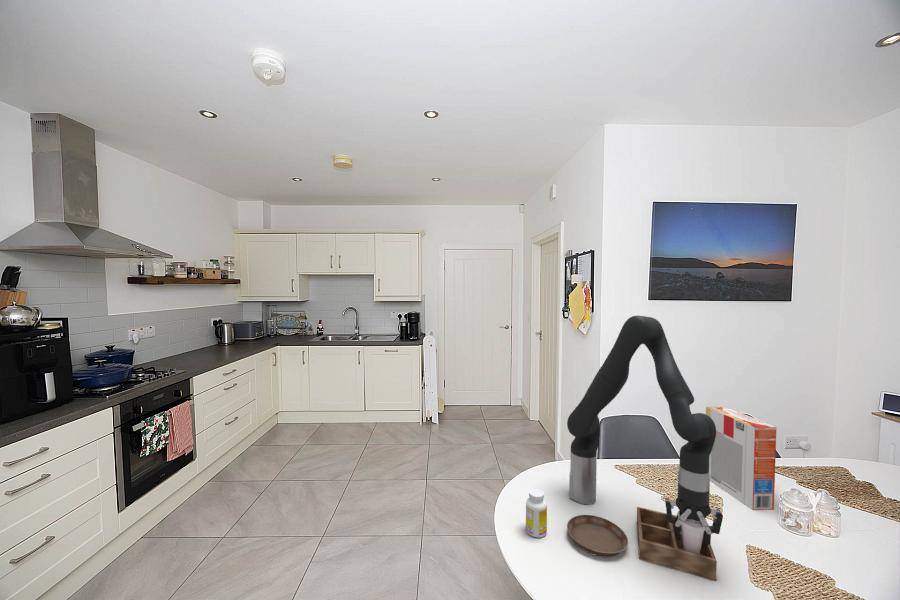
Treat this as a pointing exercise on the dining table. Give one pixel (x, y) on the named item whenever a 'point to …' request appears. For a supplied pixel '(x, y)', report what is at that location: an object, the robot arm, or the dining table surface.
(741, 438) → the white and orange box
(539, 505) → the supplement bottle
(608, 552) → the plant saucer
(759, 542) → the dining table surface
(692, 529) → the smoothie
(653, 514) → the bottle caddy
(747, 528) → the dining table surface
